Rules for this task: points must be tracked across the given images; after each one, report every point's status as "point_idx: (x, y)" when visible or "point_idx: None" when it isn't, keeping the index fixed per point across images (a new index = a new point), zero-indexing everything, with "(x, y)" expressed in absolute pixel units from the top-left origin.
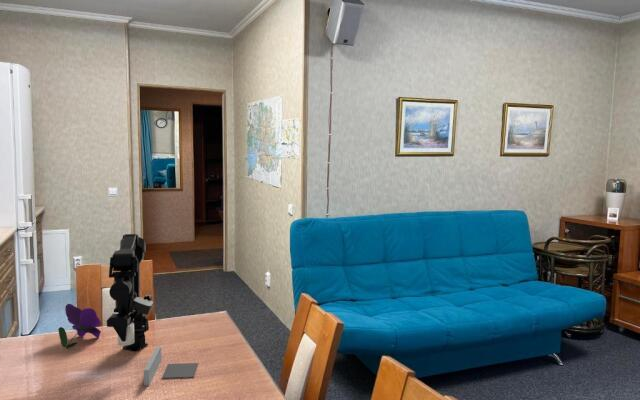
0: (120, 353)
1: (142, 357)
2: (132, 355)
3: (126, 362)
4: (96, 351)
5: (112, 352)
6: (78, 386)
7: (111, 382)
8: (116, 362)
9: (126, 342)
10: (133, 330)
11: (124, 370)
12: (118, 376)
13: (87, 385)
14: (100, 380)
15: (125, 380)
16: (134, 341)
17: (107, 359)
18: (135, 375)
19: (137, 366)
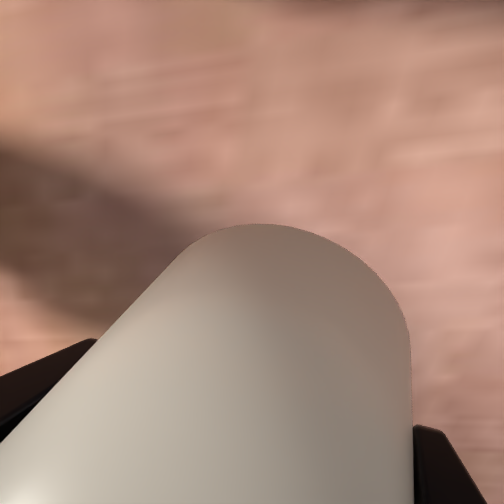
0: (12, 255)
1: (60, 92)
2: (33, 175)
3: (143, 206)
4: (2, 375)
5: (4, 299)
6: (461, 459)
7: (479, 284)
8: (140, 270)
9: (410, 381)
10: (231, 413)
11: (279, 208)
12: (380, 243)
13: (467, 419)
14: (412, 352)
15: (482, 183)
16: (264, 227)
17: (97, 322)
18: (403, 106)
19: (220, 112)
